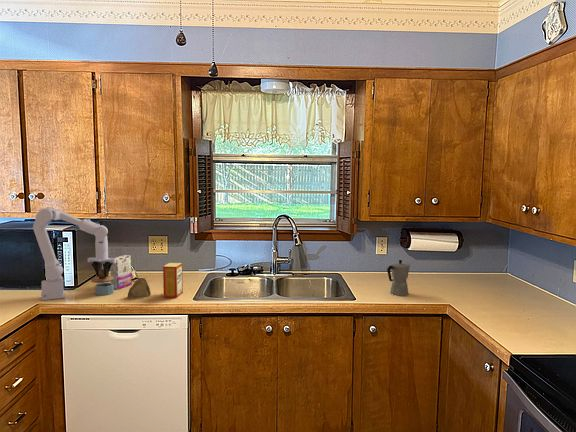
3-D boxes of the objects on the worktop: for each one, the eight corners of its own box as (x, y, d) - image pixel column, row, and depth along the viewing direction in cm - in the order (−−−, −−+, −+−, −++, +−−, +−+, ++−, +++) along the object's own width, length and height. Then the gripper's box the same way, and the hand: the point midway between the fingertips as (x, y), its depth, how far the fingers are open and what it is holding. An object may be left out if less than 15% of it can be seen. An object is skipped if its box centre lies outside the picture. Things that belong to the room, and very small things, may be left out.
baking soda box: (170, 292, 215) (169, 262, 214) (182, 292, 215) (182, 262, 214) (163, 297, 206) (163, 265, 205) (176, 298, 206) (176, 266, 204)
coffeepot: (402, 290, 225) (403, 257, 223) (415, 294, 217) (416, 260, 215) (380, 293, 217) (381, 259, 216) (393, 298, 209) (394, 263, 208)
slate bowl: (95, 296, 207) (95, 287, 206) (94, 292, 214) (94, 283, 214) (114, 294, 211) (114, 285, 210) (112, 290, 218) (112, 282, 218)
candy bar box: (124, 283, 232) (124, 254, 230) (132, 284, 230) (131, 255, 228) (110, 288, 221) (109, 258, 220) (118, 289, 219) (117, 259, 218)
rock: (122, 295, 201) (141, 293, 200) (125, 278, 206) (144, 276, 205) (132, 303, 210) (151, 301, 209) (135, 287, 215) (153, 285, 214)
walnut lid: (91, 283, 203) (91, 272, 203) (91, 279, 213) (90, 268, 212) (114, 281, 208) (114, 270, 208) (113, 277, 217) (112, 266, 217)
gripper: (83, 250, 206) (84, 277, 207) (110, 251, 204) (111, 278, 205) (92, 248, 213) (92, 274, 214) (118, 249, 211) (119, 275, 212)
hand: (102, 276), depth 210 cm, fingers closed on walnut lid, 4 cm apart
